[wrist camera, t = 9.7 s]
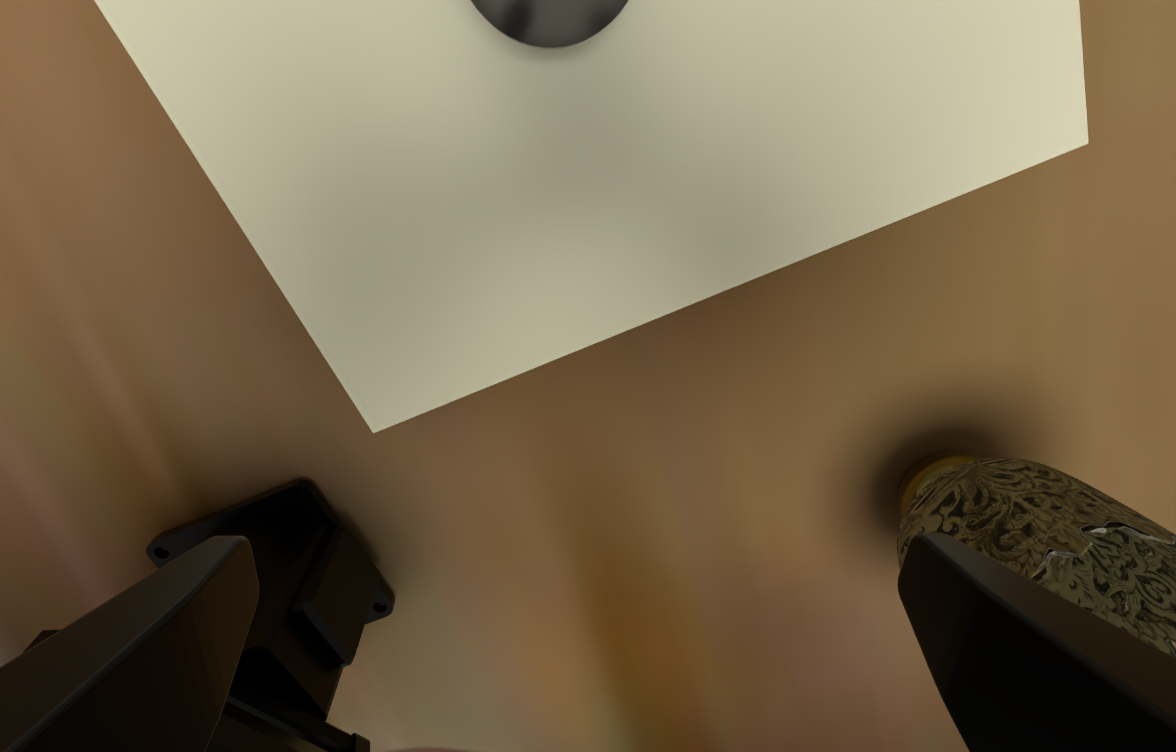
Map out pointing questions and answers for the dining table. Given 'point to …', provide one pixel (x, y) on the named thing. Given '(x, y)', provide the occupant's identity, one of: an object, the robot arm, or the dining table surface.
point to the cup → (1050, 536)
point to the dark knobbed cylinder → (549, 20)
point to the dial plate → (581, 156)
